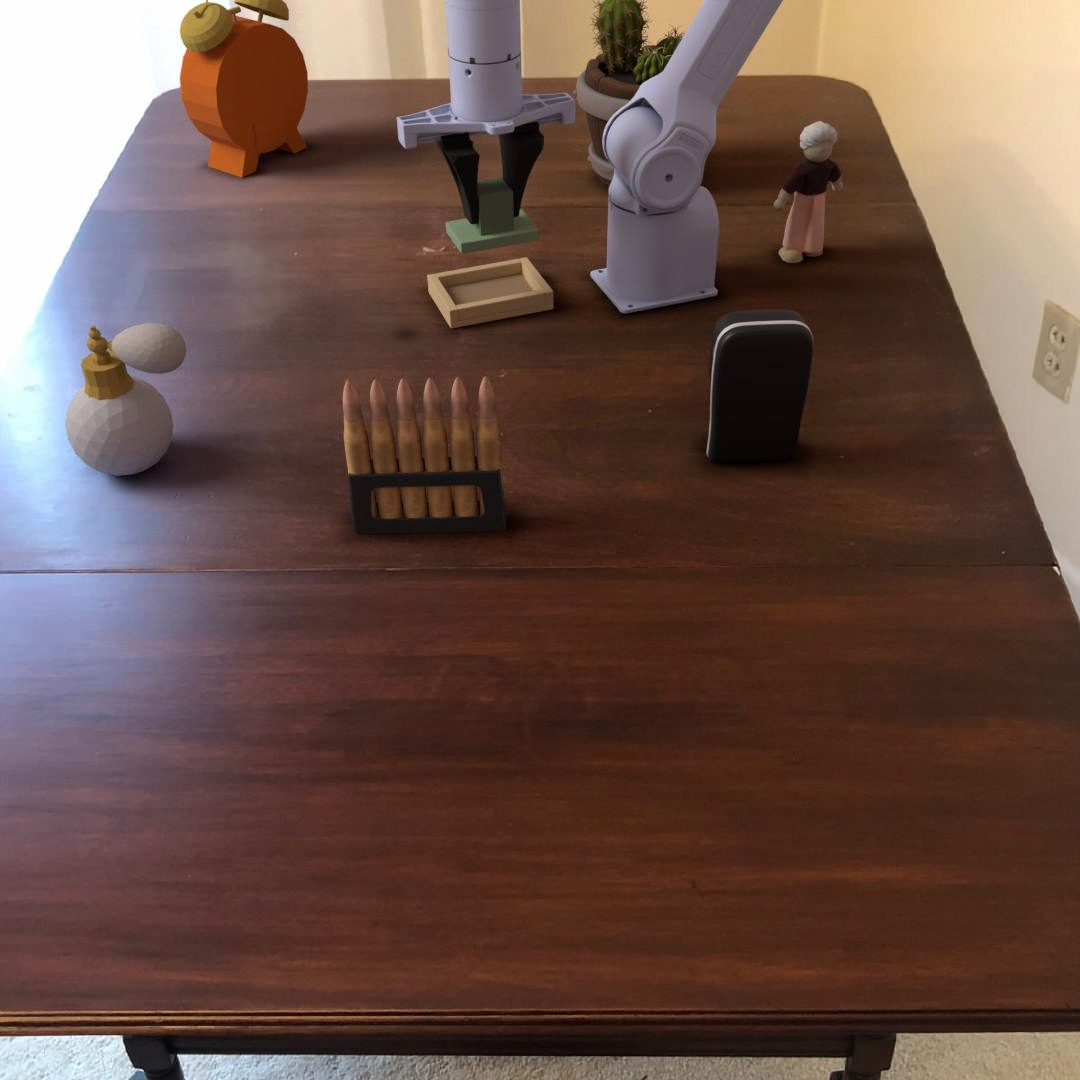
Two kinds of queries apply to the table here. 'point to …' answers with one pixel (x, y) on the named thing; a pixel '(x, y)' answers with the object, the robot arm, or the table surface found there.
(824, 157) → the grandmother figurine
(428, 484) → the ammunition clip
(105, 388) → the perfume bottle
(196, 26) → the alarm clock
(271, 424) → the table surface
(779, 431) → the battery charger
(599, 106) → the flowerpot
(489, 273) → the socket pad
